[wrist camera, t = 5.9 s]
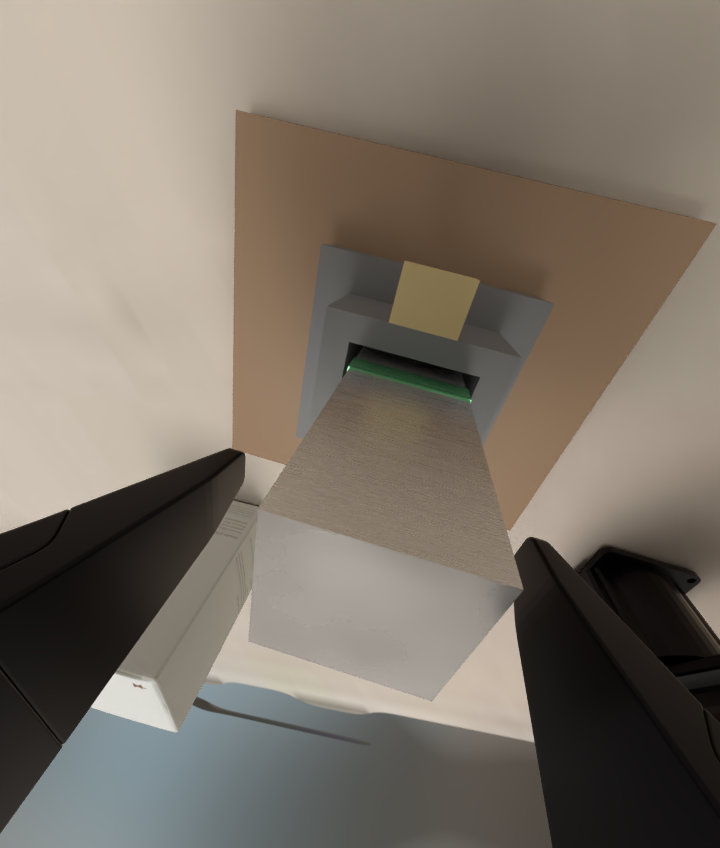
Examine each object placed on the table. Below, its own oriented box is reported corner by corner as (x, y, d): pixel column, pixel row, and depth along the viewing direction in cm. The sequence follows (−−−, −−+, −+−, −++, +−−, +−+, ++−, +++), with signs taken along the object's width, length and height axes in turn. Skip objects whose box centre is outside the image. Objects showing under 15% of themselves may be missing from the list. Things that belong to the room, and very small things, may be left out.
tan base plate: (694, 225, 13) (912, 206, 7) (506, 517, 23) (535, 615, 16) (249, 119, 14) (122, 26, 8) (240, 440, 24) (177, 505, 18)
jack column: (461, 365, 13) (529, 589, 4) (429, 445, 15) (433, 703, 7) (365, 339, 13) (254, 505, 5) (347, 421, 15) (246, 641, 7)
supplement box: (185, 486, 27) (23, 644, 16) (267, 506, 27) (155, 685, 16) (195, 543, 31) (69, 704, 20) (267, 562, 30) (177, 739, 19)
